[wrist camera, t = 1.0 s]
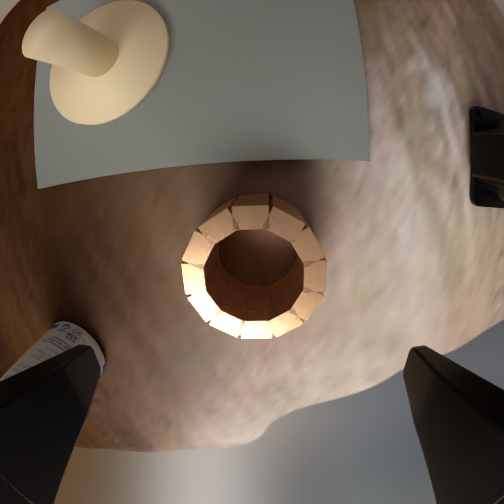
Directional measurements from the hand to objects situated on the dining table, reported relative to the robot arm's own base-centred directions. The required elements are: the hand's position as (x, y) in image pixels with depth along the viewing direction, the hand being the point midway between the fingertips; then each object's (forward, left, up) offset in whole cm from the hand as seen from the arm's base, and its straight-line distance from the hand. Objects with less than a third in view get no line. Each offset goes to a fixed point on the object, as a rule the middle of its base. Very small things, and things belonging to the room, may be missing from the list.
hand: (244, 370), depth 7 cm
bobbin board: (+4, -12, -10) cm, 16 cm away
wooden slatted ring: (0, 0, -10) cm, 10 cm away
